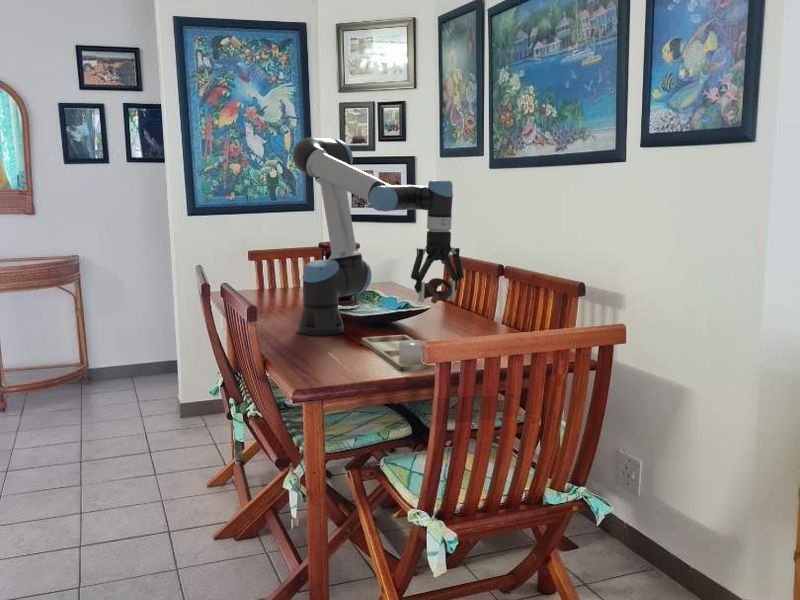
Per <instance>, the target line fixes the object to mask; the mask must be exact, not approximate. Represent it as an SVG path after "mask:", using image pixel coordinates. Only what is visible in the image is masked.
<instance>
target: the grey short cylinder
mask: <svg viewBox="0 0 800 600" xmlns="http://www.w3.org/2000/svg"><path fill="white" fill-rule="evenodd" d="M424 341H425V340H420V339H414V340H405V341H401V342H400V343H399V362H401V363H403V364H408V365H419V364H423V363H422V362H421V358H422V354H421V346H422V343H423V342H424Z"/></svg>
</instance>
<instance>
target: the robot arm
mask: <svg viewBox="0 0 800 600" xmlns="http://www.w3.org/2000/svg"><path fill="white" fill-rule="evenodd" d="M353 156H354V155H353V152H352V150H351V148H350V146H349V145H348V144H347V143H346V142H345V141H343V140H341V139H336V138H321V137H319V138H318V137H305V138H303V139H301V140H300V141H298V142H297V143H296V144H295V146H294V148H293V150H292V161H293V164H294V166H295V168H296V169H298V170H299V171H300V172H302V173H303V174H305V175H307V176H310V177H312V178H314V180H315V182H316V183H318V185H320V189H321V195H322V200H323V208H324V213H325V219H326V226H327V233H328V238H329V241H330V245H331V251H332V254H331V256H330V257H329V259H328V260H326V259H324V260H321V259H317V260H313V261H309V262H307V263H306V264H305V265H304V266H303V269H302V270H303V273H302V293H303V294H302V300H303V304H302V306H303V307H302V308H303V309H302V311H301V314H300V317H299V321H298V324H297V331H298V333H300V334H302V335H306V336H315V337H319V336H320V337H325V336H326V337H327V336H336V335H338V334H341V333H343V332H344V323H343V320H342V315H341V313H340V310H339V309H338V297H343V296H348V295H352V296H354V295H356V294H357V295H358V294H360V293H364V291H366V290H367V289H368V287H369V285H370V284H371V281H372V270H371V267H370V265H369V264H368V263H367V262H366V261H365V260H363V256H362V253H361V252H359V250H358V251H357V250H356V245H355V242H356V239H355V234H354V227H353V226H354V225H353V222H352V221H353V220H352V214H351V209H350V202H349V195H348V193H350V194H352V195H355V196H357V197H358V198H361V199H363V200H364V201H367V202H369V203H370V205H371V207H372V209H374V210H376V211H378V212H384V213H385V212H392V211H410V210H419V211H421V210H422V211H427V213H426V214H427V219H426V220H427V221H426V222H427V223H426V229H427V231H426V246H425V247H417V248H416V257H415V260H414V264H413V267H412V271H411V273H410V274H411V275H410V278H411V280H414V281H416V282H415V284H416V290H417V291H418V292H419V294H418V301H417V302H420V303H422V304H423V303H425V299H424V286H425V283H426V282H425V281H423V280H424V278H425V277H426V275H427V273H428V271H429V269H430V267H431V265H432V264H433V263H434V262H436V261H442V262H443V263H444V265H445V267H446V269H447V271H448V273H449V276H450V278H451V279H448V280H449V281H448V282H449V283H450V285H451V291H452V294H451V295H450V296H449V298H448V300H449V301H451V302H455V298H456V297H455V294H456V293H455V292H456V291H457V290H458V281H460V280H461V279H463V278H464V272H463V267H462V263H461V257H460V253H461V251H460V248H459V247H456V246H453V247H452V246H451V242H452V232H451V229H452V221H453V220H452V218H453V217H452V215H453V214H452V213H453V211H452V209H453V208H452V207H453V197H454V192H453V181H451V180H444V179H443V180H441V179H431V180H429V181H428V185H414V184H400V185H393V184H389V183H387V182H386V181H383V180H381V179H380V178H377V177H375V176H373V175H371V174H368V173H366V172H364V171H362V170H360V169H358V168H356V167H354V166H352V165H353V162H354V161H353V160H354V157H353ZM450 253H451V254H452V259H453V264H454V266H453V264H452V261H451V259H450V257H449V255H450ZM425 254H427V256H426V258H425V261H424V263H423V259H424V256H425ZM422 263H423V264H422ZM416 290H415V291H416Z"/></svg>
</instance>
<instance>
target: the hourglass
mask: <svg viewBox="0 0 800 600" xmlns="http://www.w3.org/2000/svg"><path fill="white" fill-rule="evenodd" d="M355 245H356V250H357V251H358V252H359V250H358V249H360V248H361V244H360V243H359V242H356V241H355ZM317 247H318V248H319V249H320V260H328V259H329V257H330V256H331V254H332V251H331V245H330V240H329V241H320V242H318V245H317ZM324 252H325V254H324ZM324 257H325V259H324ZM353 296H354V298H353ZM358 304H359V305H360V301H358V294H356V295H348V296H343V297H338V305H341V306H354V305H358Z"/></svg>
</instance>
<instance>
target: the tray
mask: <svg viewBox="0 0 800 600" xmlns="http://www.w3.org/2000/svg"><path fill="white" fill-rule="evenodd" d="M405 340H415V339H414V338H412V337H410V336H408V335H407V334H398V335H397V334H396V335H395V334H394V335H382V336H381V335H380V336H379V335H378V336H367V337H360V344H361V345H362V346H363V347H368V348H369V349H370V350H371V351H373V352H374V353H376V354H377V355H378V356H380V357H381V358H383V360H385V361H387V362H388V363H389V364H390V365H392V366H393V367H394V368H396V369H398V370H399V371H400V372H413V371H414V372H415V371H424V370H435V369H434V368H435V365H427V364H419V365H408V364H403V363H401V362H399V343H400V342H401V341H405Z"/></svg>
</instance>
